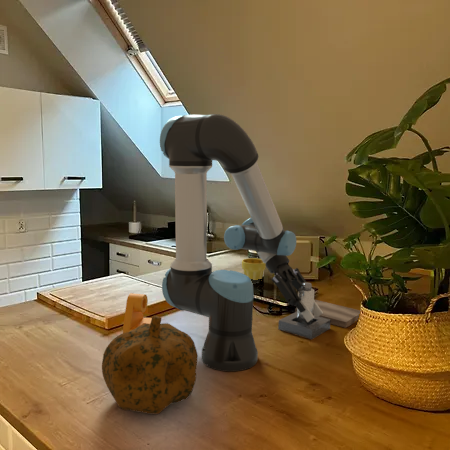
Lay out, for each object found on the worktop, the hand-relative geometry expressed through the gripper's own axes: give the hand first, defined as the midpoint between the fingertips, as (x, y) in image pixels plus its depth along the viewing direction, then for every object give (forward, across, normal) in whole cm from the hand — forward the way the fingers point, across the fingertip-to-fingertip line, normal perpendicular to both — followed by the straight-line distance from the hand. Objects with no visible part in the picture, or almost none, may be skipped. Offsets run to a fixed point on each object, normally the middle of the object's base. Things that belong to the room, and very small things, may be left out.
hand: (315, 317), depth 142 cm
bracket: (-24, +37, -32) cm, 55 cm away
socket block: (+1, 0, -6) cm, 6 cm away
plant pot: (-30, -32, -37) cm, 58 cm away
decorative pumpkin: (-2, +61, -9) cm, 62 cm away
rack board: (+1, -17, -6) cm, 18 cm away
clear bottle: (+1, 0, -6) cm, 6 cm away
